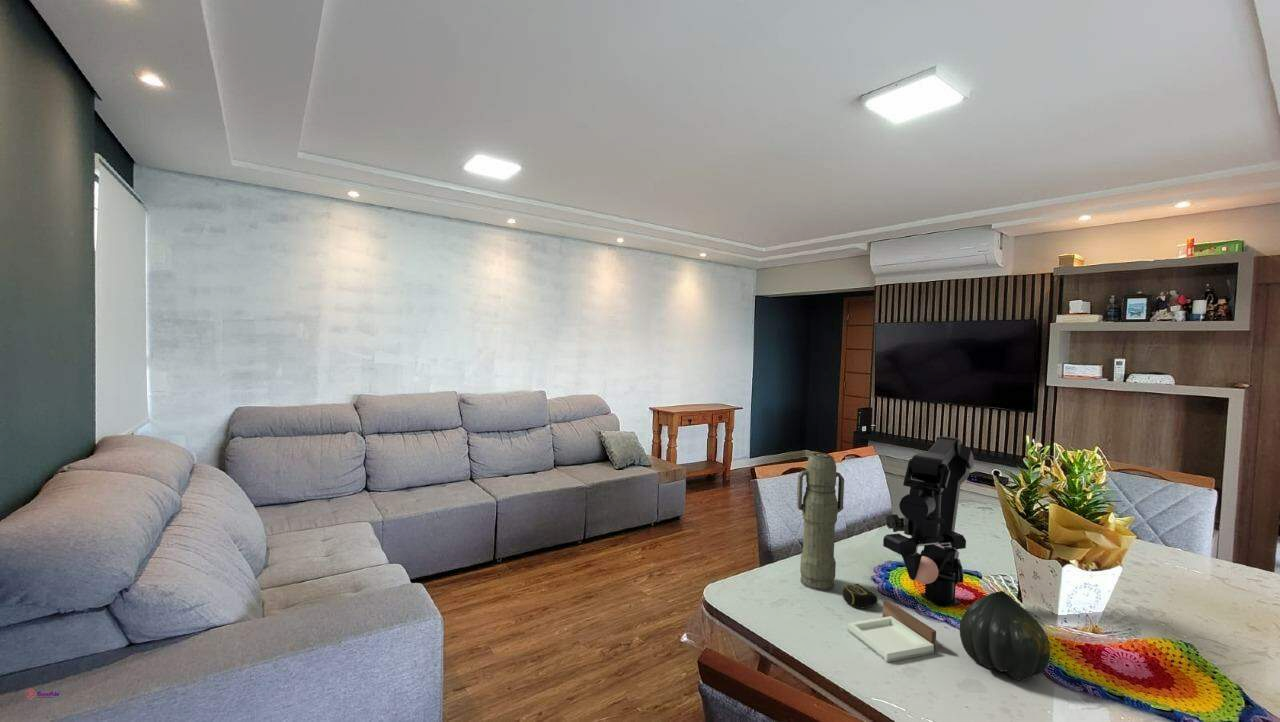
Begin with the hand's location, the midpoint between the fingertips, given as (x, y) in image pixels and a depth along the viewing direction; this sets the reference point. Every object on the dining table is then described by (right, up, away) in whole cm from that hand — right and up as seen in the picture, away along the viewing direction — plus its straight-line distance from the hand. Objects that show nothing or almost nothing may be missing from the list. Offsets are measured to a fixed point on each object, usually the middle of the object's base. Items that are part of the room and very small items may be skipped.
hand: (922, 578), depth 120 cm
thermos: (-17, -10, +21) cm, 29 cm away
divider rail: (-5, -11, -2) cm, 12 cm away
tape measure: (-10, -11, +11) cm, 19 cm away
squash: (+8, -12, -14) cm, 20 cm away
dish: (-11, -11, -6) cm, 17 cm away
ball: (0, -1, 0) cm, 1 cm away
